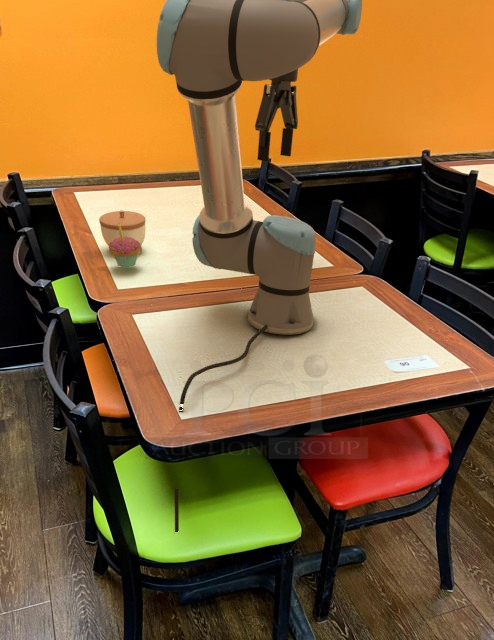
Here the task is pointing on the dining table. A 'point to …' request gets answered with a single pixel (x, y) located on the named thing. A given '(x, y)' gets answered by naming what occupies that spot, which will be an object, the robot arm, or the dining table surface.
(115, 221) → the lidded bowl
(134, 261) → the cupcake
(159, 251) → the dining table surface
